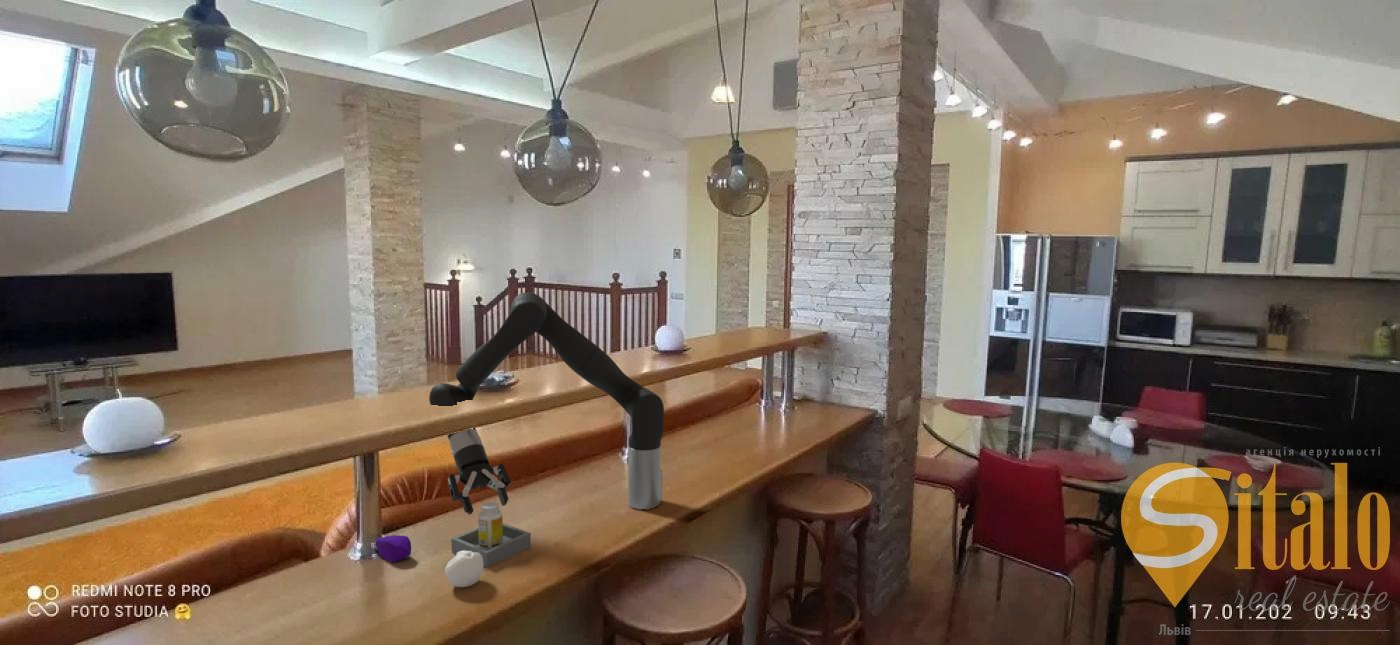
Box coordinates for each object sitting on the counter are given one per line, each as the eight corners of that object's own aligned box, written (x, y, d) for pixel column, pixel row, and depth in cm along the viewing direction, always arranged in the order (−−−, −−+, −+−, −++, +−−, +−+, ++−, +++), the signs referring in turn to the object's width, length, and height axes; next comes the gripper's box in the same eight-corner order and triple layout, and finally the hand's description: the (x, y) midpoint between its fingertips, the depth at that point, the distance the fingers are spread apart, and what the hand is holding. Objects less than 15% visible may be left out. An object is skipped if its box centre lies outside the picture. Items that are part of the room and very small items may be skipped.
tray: (496, 533, 166) (495, 520, 166) (530, 546, 159) (530, 533, 159) (451, 552, 156) (451, 538, 155) (486, 567, 148) (486, 553, 148)
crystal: (381, 528, 160) (417, 537, 151) (383, 547, 160) (419, 558, 152) (362, 535, 156) (398, 545, 147) (364, 555, 156) (400, 566, 148)
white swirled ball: (472, 572, 146) (471, 539, 145) (491, 583, 141) (491, 550, 141) (439, 586, 140) (438, 552, 139) (458, 598, 135) (456, 563, 134)
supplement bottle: (504, 539, 160) (504, 500, 159) (500, 550, 155) (499, 509, 154) (481, 540, 160) (480, 500, 159) (476, 551, 154) (475, 509, 153)
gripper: (443, 448, 158) (463, 508, 150) (499, 438, 167) (520, 494, 160) (436, 464, 162) (455, 523, 155) (491, 453, 171) (511, 508, 164)
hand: (488, 508), depth 157 cm, fingers open, 8 cm apart
